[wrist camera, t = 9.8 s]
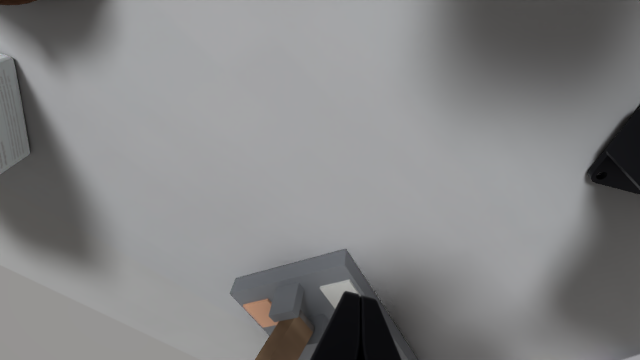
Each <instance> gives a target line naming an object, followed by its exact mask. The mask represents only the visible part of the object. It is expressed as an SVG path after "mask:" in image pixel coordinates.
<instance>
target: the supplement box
mask: <svg viewBox="0 0 640 360" xmlns="http://www.w3.org/2000/svg"><path fill="white" fill-rule="evenodd" d="M29 154H30V149H29V143H28V137H27V131H26V125H25V119H24V114H23V107H22V101H21V96H20V90H19V85H18V80H17V73H16V68H15V64H14V60H13V58H11V57H9V56H7V55H4V54H1V53H0V174H2V173H3V172H5V171H6V170H7V169H9V168H10V167H12V166H13V165H15V164H16V163H18V162H19V161H21V160H22V159H24V158H25V157H26V156H28V155H29Z"/></svg>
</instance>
